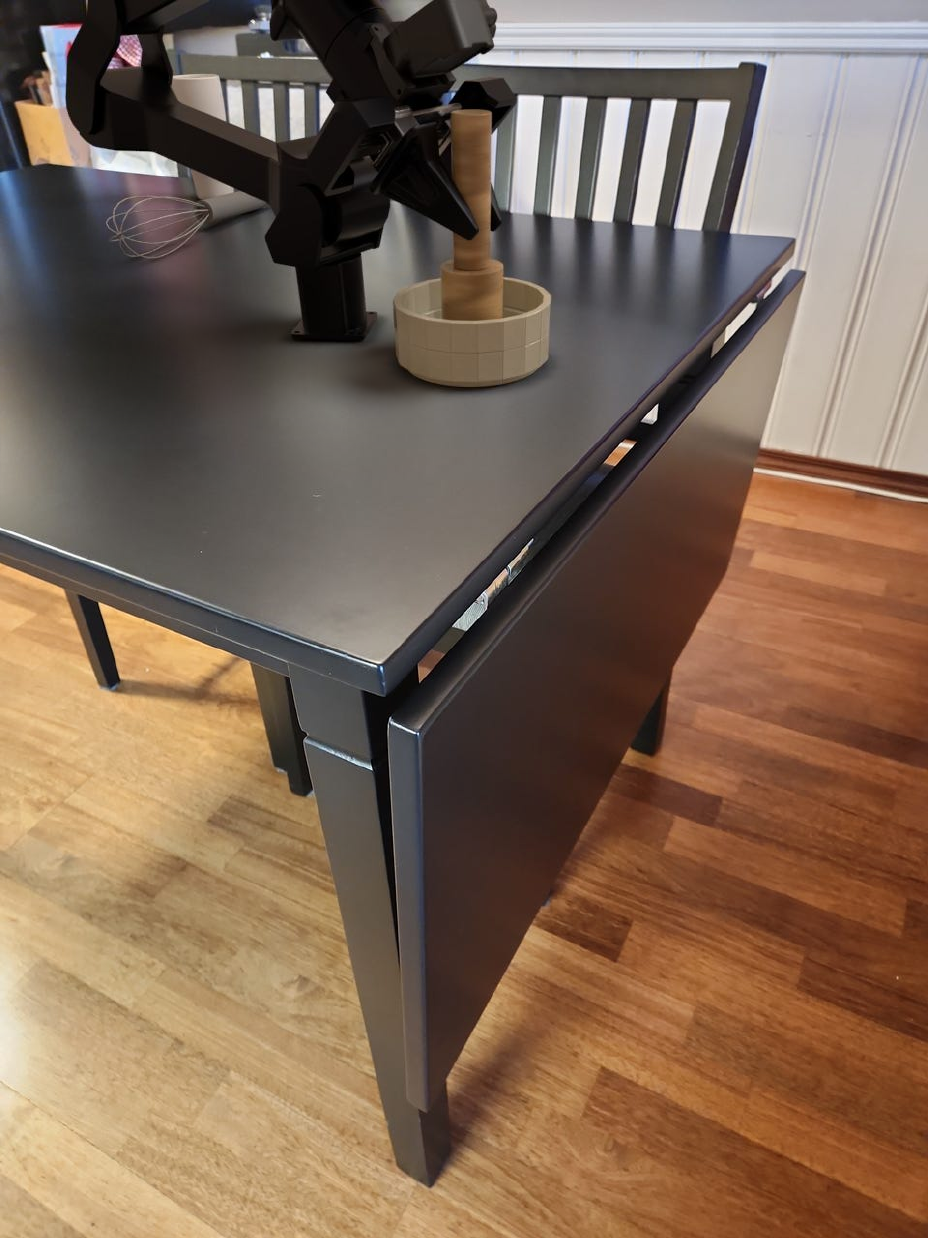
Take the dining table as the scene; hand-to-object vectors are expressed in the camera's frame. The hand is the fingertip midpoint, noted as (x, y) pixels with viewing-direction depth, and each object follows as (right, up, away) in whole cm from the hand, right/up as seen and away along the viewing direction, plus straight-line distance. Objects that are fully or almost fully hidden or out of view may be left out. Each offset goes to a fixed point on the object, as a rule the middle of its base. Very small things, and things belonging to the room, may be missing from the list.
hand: (486, 231), depth 60 cm
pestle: (-1, -5, +5) cm, 7 cm away
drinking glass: (-38, +33, +60) cm, 79 cm away
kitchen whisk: (-35, +20, +43) cm, 59 cm away
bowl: (-1, -7, +7) cm, 10 cm away
